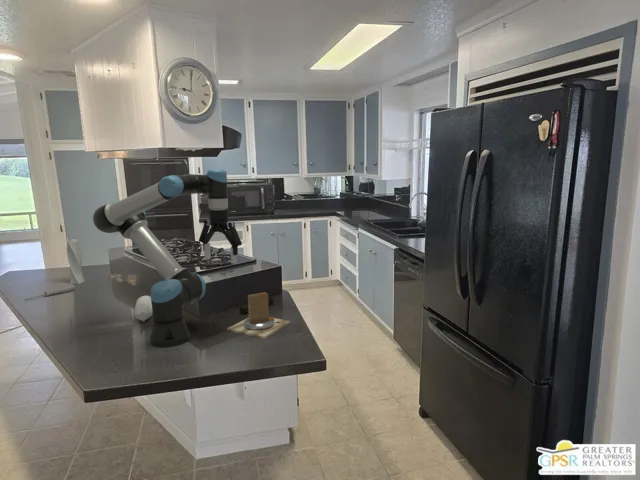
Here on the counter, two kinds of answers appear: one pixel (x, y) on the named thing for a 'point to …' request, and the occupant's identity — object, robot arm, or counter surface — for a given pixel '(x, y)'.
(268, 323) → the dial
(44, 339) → the counter surface
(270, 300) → the hand tool
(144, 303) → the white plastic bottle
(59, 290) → the screwdriver
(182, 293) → the robot arm
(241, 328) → the dial plate
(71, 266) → the skyscraper
